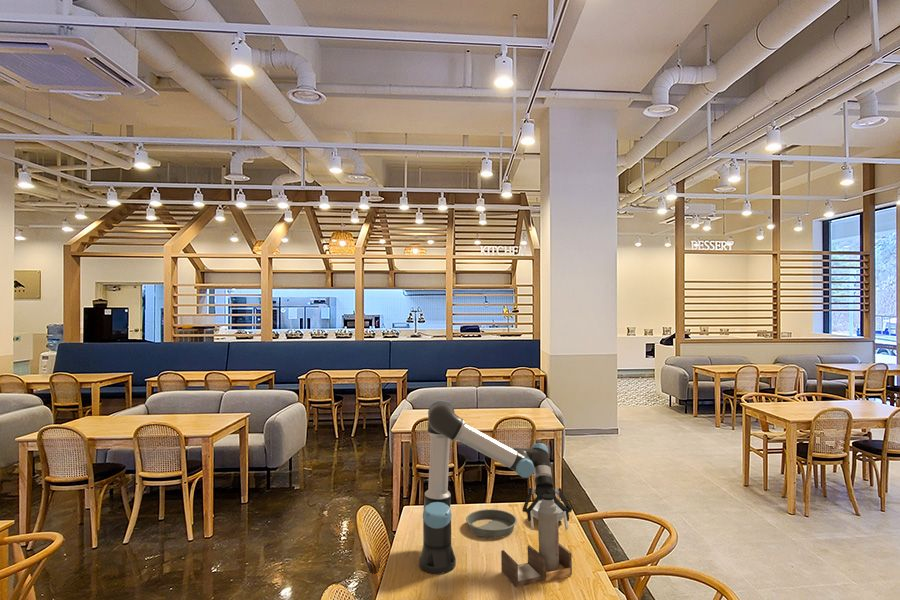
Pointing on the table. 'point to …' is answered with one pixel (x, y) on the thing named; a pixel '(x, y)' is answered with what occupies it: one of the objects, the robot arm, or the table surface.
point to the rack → (535, 567)
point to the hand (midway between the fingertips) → (549, 529)
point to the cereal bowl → (535, 509)
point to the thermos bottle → (548, 532)
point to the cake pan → (492, 523)
